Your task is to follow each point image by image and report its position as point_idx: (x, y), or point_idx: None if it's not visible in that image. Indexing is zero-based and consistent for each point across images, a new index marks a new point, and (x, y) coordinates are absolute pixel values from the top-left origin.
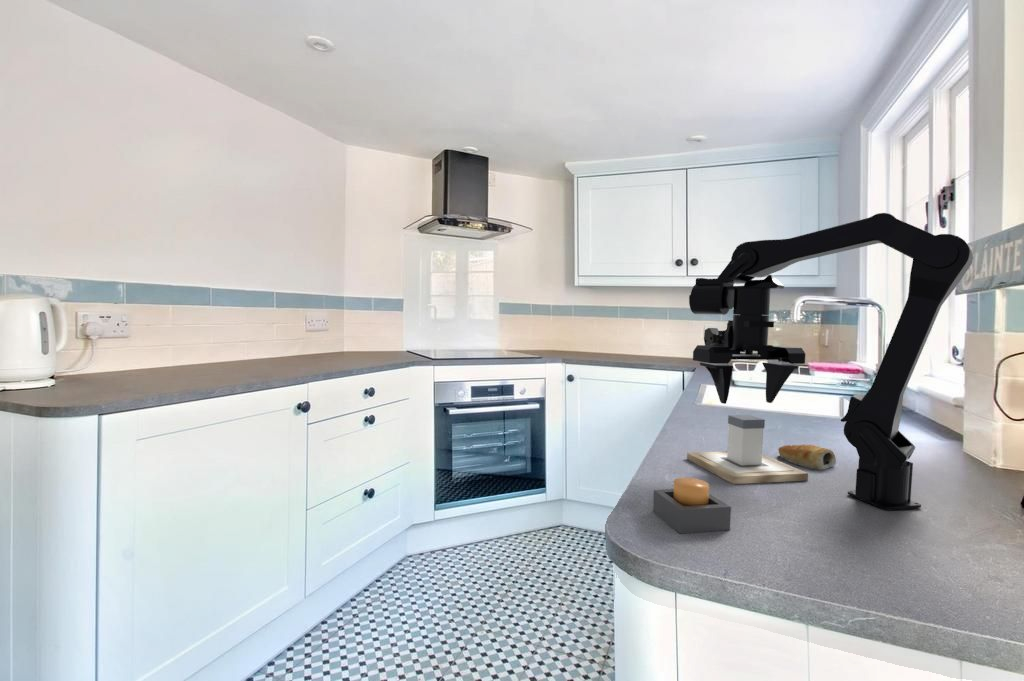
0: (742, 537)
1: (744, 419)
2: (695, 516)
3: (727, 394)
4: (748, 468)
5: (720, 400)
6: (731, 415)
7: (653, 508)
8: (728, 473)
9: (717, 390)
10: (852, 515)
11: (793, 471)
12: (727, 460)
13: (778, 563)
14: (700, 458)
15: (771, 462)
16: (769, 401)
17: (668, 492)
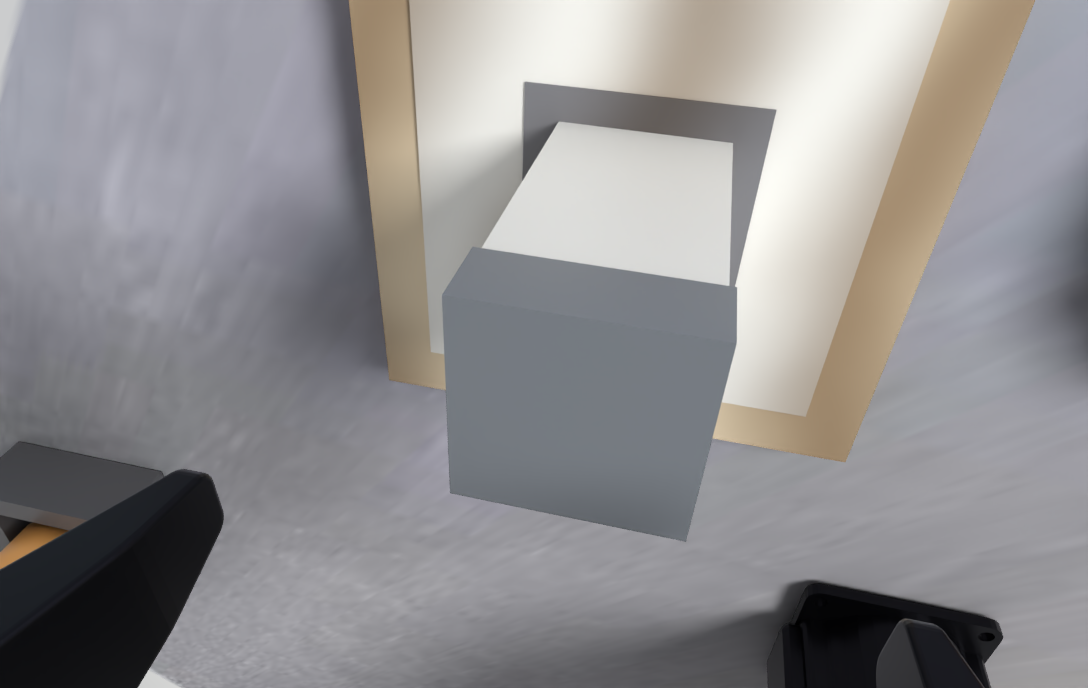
0: (216, 599)
1: (481, 479)
2: None
3: (144, 650)
4: None
5: (159, 491)
6: (470, 316)
7: (12, 450)
8: (392, 337)
9: (10, 584)
10: (621, 646)
11: (791, 420)
12: (529, 160)
13: (239, 667)
14: (368, 47)
15: (823, 275)
16: (879, 672)
17: (6, 515)
